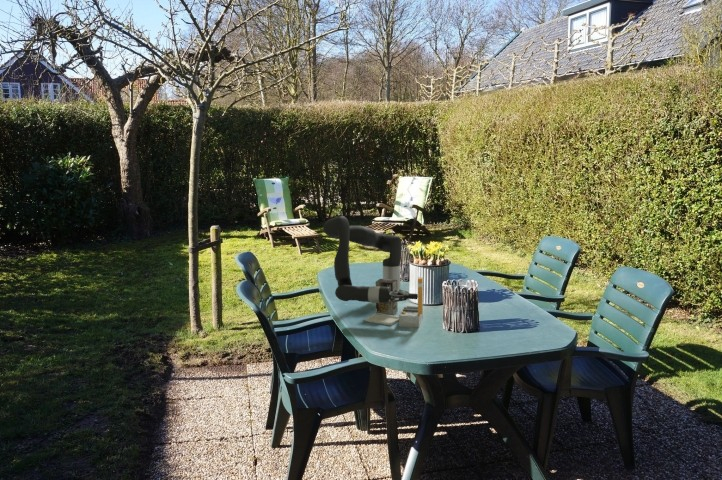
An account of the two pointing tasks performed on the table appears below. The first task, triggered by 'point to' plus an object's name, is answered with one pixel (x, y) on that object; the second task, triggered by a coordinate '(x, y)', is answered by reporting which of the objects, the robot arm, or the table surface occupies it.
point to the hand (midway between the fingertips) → (417, 296)
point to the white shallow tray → (383, 319)
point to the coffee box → (392, 306)
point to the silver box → (410, 317)
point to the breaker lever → (420, 295)
